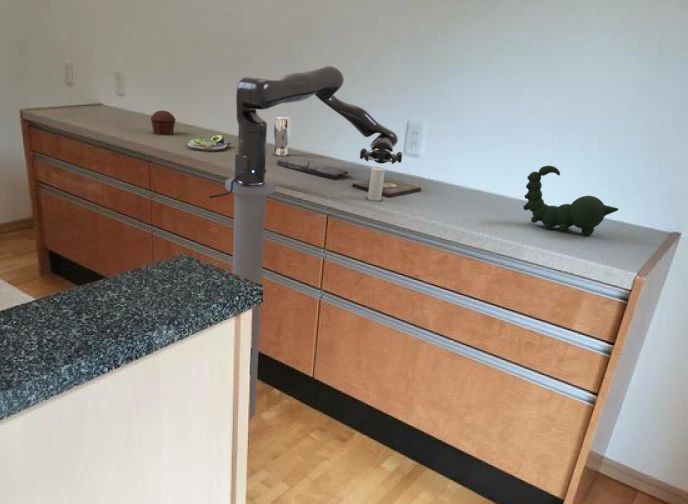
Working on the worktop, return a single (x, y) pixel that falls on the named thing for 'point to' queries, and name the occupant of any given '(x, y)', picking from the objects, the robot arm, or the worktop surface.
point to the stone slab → (312, 167)
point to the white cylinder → (376, 183)
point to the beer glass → (282, 135)
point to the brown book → (390, 187)
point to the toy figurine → (564, 207)
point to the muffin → (163, 123)
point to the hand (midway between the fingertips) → (380, 159)
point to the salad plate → (209, 144)
